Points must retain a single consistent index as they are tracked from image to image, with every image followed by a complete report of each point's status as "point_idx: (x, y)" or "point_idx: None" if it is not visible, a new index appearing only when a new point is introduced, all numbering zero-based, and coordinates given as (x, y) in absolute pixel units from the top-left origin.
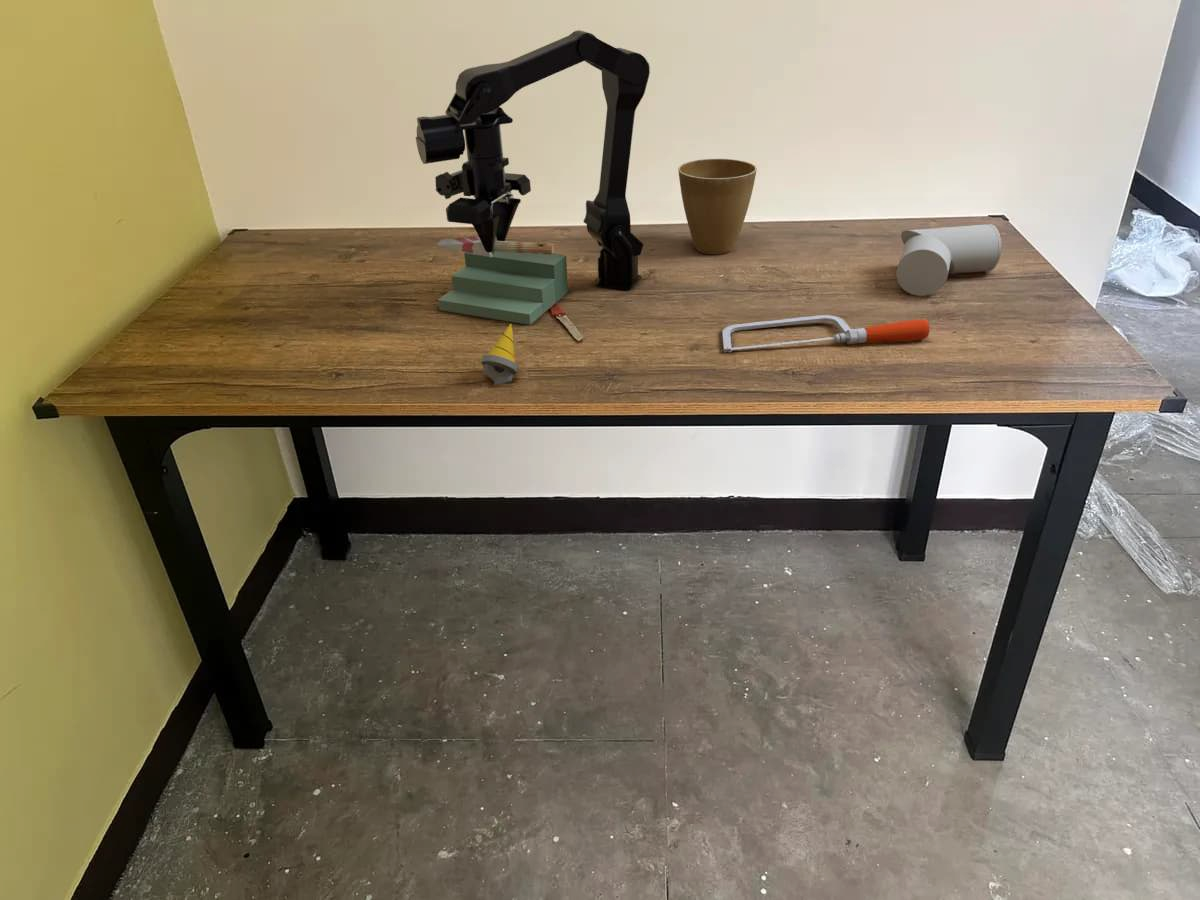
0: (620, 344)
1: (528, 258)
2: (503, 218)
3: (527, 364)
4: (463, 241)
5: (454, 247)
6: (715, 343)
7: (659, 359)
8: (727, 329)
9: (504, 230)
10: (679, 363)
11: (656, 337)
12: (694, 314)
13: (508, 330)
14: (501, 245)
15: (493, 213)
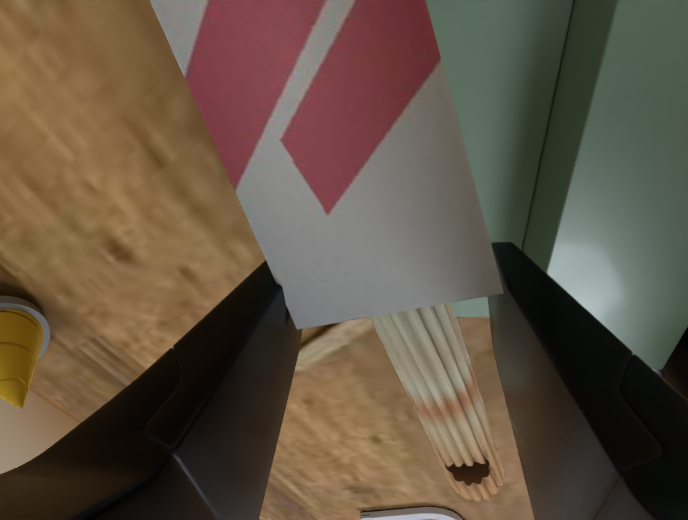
0: (310, 423)
1: (600, 252)
2: (554, 505)
3: (111, 328)
4: (246, 10)
5: None
6: (388, 503)
7: (291, 468)
8: (434, 516)
9: (507, 390)
10: (295, 484)
11: (371, 454)
12: (502, 476)
13: (6, 400)
14: (379, 330)
15: (608, 498)
